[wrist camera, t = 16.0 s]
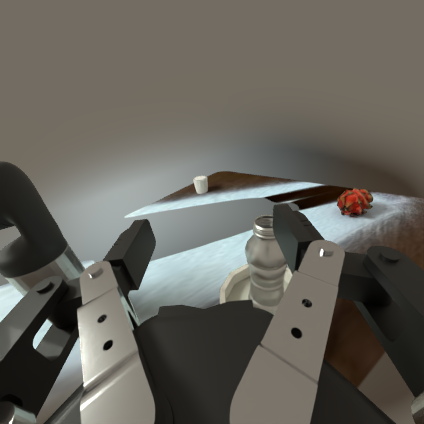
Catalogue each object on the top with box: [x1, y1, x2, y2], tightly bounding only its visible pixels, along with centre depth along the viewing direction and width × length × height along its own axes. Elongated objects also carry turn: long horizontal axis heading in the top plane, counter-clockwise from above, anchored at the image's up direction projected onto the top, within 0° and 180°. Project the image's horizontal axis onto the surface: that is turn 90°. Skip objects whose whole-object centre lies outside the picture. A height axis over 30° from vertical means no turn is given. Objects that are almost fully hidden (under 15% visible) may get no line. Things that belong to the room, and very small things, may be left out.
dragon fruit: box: [337, 188, 373, 215], centre depth 58 cm, size 8×8×12 cm
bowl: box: [220, 264, 292, 304], centre depth 35 cm, size 17×17×4 cm
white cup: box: [193, 176, 208, 194], centre depth 90 cm, size 7×7×7 cm
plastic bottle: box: [245, 215, 287, 314], centre depth 31 cm, size 6×7×20 cm
